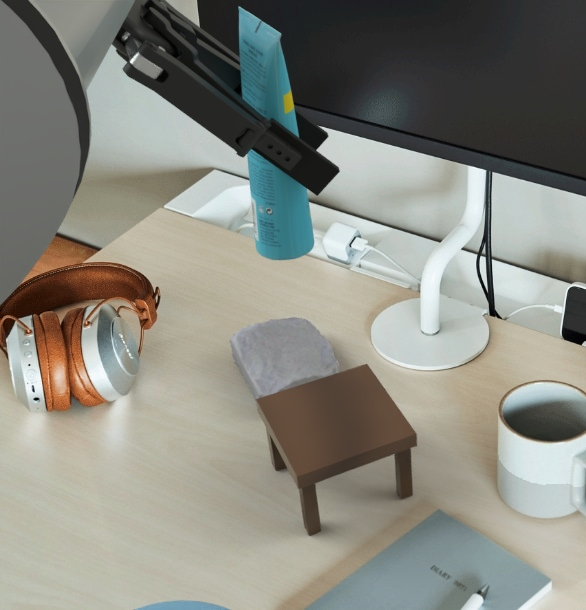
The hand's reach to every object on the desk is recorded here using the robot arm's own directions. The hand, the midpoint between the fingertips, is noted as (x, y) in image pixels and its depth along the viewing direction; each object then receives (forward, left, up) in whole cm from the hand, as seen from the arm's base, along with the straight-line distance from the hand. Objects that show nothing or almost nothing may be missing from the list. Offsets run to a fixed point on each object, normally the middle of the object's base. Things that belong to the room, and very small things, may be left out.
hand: (322, 163), depth 74 cm
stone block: (-2, +12, -30) cm, 32 cm away
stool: (-3, -5, -30) cm, 31 cm away
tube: (-4, +1, -8) cm, 8 cm away
